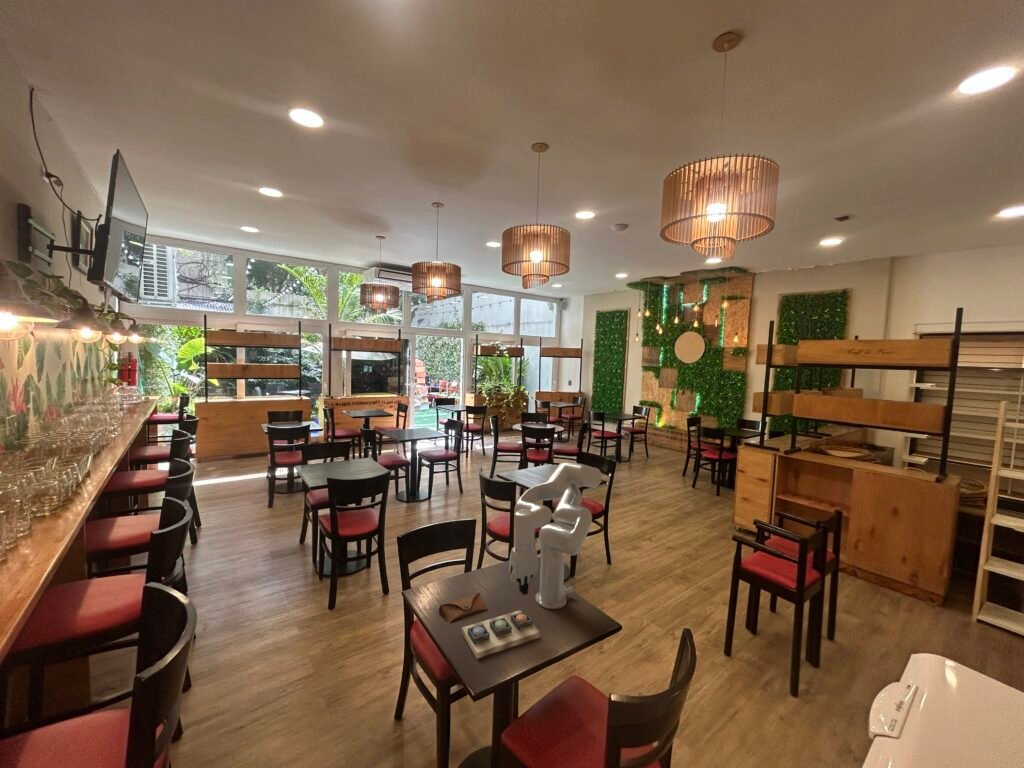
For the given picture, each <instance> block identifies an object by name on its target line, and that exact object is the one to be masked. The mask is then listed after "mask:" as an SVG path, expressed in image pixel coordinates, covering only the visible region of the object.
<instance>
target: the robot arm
mask: <svg viewBox="0 0 1024 768" xmlns="http://www.w3.org/2000/svg"><path fill="white" fill-rule="evenodd" d="M602 477H603V476H602V472H601V470H600V469H599V468H598V467H593V466H590V465H586V464H583V463H577V462H573V461H566V460H565V461H561V462H560V463H559V464H558V465H557V466H556V467H555V468H554V470H553V471H552V473H551V474H550V475H549V477H548V478H547V480H546V481H544V482H543V483H539V484H537V485H534V486H532V487H531V488H528V489H527V490H526V491H524V493H523V494H522V495H521V496H520V498H519V499H518V500H517V502H516V504H515V506H514V509H513V510H514V511H513V513H514V515H513V516H514V517H513V547H511V551H510V553H509V554H510V555H509V561H508V562H509V563H508V566H509V567H508V573H509V574H510V578H509V580H510V581H511V582H518V589H519V592H520V593H521V594H522V595H523V596H525V595H528V594H529V584H530V583H531V580H532V578H533V577H534V576H536V575H537V574H538V570H539V558H538V557H539V556H538V551H537V550H538V549H537V546H536V543H538V539H539V546H540V570H539V572H540V573H539V591H538V592H537V593H536V594H535V602H536V603H537V604H538V605H539V606H540V607H541V608H544V609H548V610H557V609H558V610H559V609H561V608H563V607H565V606H566V604H567V596H566V595H567V594H571V593H573V591H574V590H573V588H572V587H571V586H570V587H567V586H566V585H564V580H565V579H564V577H565V574H564V573H565V556H564V554H566V555H570V556H576V555H578V554H579V553H580V551H581V549H582V546H583V544H584V542H585V541H586V540H585V539H586V538H587V535H588V534H589V531H590V528H591V527H592V521H593V515H592V513H591V510H590V509H588V508H586V507H585V506H581V504H582V502H583V496H582V492H581V490H580V488H579V486H582V487H587V488H592V489H595V488H598V487H599V486H600V484H601V482H602ZM557 499H559V501H558V503H557V505H556V507H555V509H554V511H553V513H552V510H551V508H549V507H548V506H546V505H543V504H540V503H538V502H542V501H543V502H544V501H552V500H557ZM551 520H553V521H554V523H552V522H551ZM536 529H539V531H538V532H539V533H538V537H539V538H536ZM569 589H570V590H569Z"/></svg>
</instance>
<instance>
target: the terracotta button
mask: <svg viewBox="0 0 1024 768" xmlns="http://www.w3.org/2000/svg"><path fill="white" fill-rule="evenodd" d="M516 620H517V621H518V623H522V622H525V621H527V616H526V615H525V614H518V615H517V616H516Z"/></svg>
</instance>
